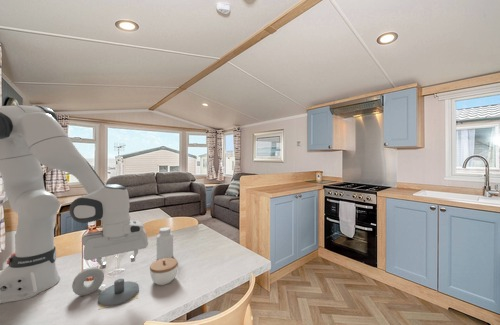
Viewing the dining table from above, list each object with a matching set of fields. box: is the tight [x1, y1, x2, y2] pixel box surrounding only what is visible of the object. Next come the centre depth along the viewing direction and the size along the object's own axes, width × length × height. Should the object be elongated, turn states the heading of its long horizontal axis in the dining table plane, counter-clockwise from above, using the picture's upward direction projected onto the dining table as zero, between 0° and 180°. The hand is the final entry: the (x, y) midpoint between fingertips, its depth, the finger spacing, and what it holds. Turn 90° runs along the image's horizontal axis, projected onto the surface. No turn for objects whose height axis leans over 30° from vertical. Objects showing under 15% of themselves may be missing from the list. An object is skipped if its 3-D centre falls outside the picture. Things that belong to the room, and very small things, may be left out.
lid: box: [97, 278, 140, 307], centre depth 81 cm, size 13×13×5 cm
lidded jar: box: [149, 257, 179, 286], centre depth 90 cm, size 11×11×9 cm
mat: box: [98, 281, 139, 310], centre depth 81 cm, size 12×12×1 cm
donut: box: [71, 266, 105, 297], centre depth 82 cm, size 10×4×10 cm, turn 141°
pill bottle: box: [156, 226, 174, 260], centre depth 111 cm, size 8×8×15 cm
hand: (118, 264), depth 80 cm, fingers open, 8 cm apart
